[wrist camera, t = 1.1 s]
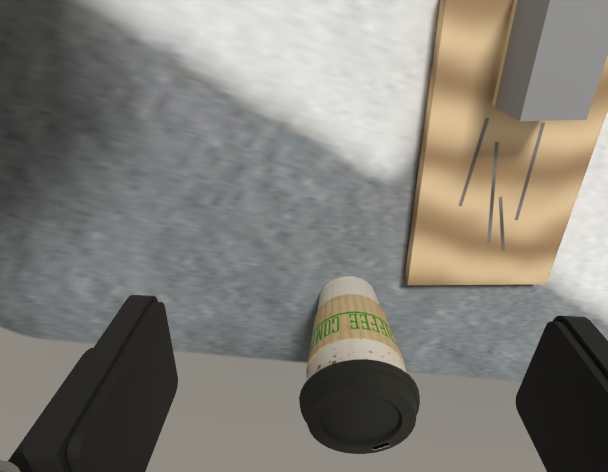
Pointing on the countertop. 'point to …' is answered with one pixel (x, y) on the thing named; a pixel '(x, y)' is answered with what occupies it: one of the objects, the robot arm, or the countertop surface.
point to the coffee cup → (356, 374)
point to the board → (490, 164)
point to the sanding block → (552, 59)
